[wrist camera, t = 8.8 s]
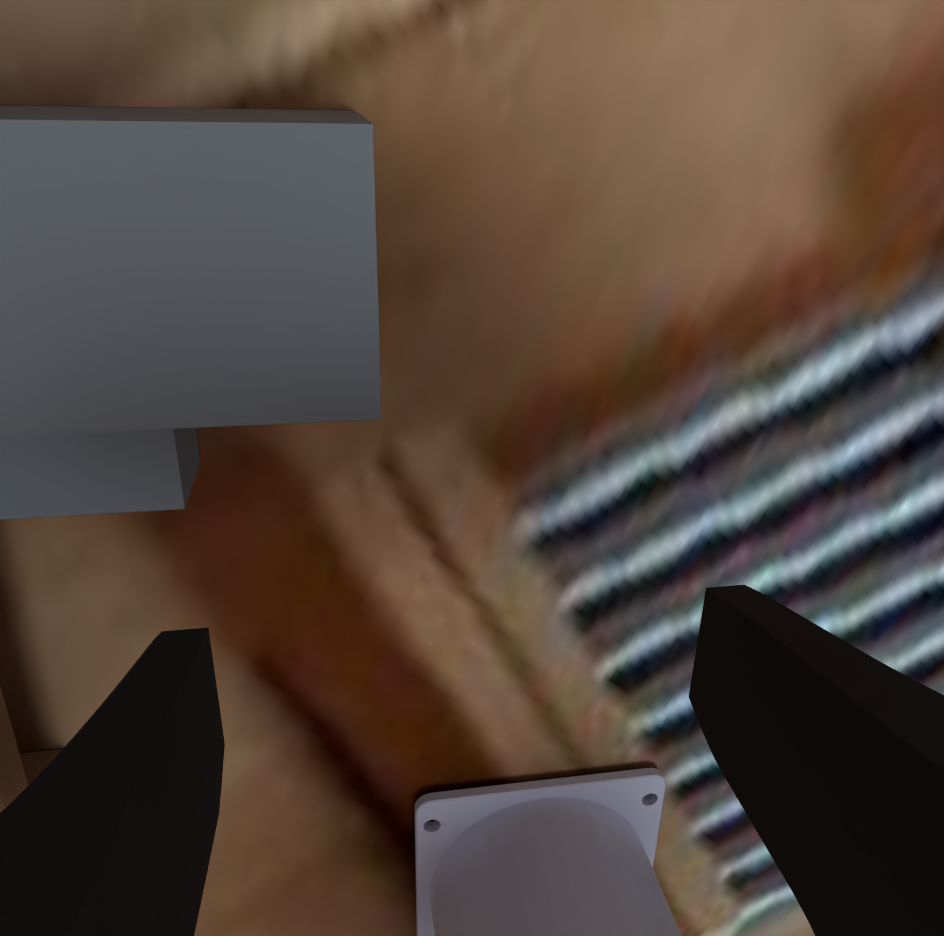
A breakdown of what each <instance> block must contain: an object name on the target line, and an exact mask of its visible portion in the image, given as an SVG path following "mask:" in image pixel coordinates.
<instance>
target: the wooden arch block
mask: <svg viewBox="0 0 944 936" xmlns="http://www.w3.org/2000/svg"><path fill="white" fill-rule="evenodd" d="M61 750H62V749H56V750H46V751H36V752H26V753H19V750H18V747H17V743H16V740H15V736H14V732H13V729H12V725H11V722H10V718H9V714H8V711H7V707H6V704H5V700H4V696H3V693H2V689H1V686H0V813H1V812H2V811H3V810H4V809H5V808H6V807H7V806H8V805H9V804H10V803H11V802H12V801H13V800H14V799H15V798H16V797H17V796H18V795H19V794H20V793H21V792H22V791H23V790H24V789H25V788H26V787H27V786H28V785H29V784H30V783H31V782H32V781H33V780H34V779H35V778H36V777H37V775H38V774H39V773H40V772H41V771H42V770H43V769H44V768H45V767H46V766H47V765H48V764H49V763H50V762H51V761H52V760H53V759H54V758H55V757H56V756H57V754H58V753H59V752H60V751H61Z"/></svg>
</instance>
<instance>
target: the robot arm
mask: <svg viewBox="0 0 944 936" xmlns="http://www.w3.org/2000/svg"><path fill="white" fill-rule="evenodd" d="M689 699H690V701H691V704H692V706H693V709H694V711H695V714H696V716H697V719H698V721H699V724H700V726H701V729H702V731H703V733H704V736H705V738H706V740H707V743H708V745H709V747H710V749H711V752H712V754H713V756H714V758H715V760H716V762H717V764H718V765H719V767H720V769H721V771H722V772H723V774H724V776H725V778H726V779H727V781H728V783H729V785H730V786H731V788H732V790H733V791H734V793H735V795H736V797H737V798H738V800H739V802H740V804H741V805H742V807H743V809H744V810H745V812H746V814H747V815H748V817H749V819H750V821H751V822H752V824H753V826H754V827H755V829H756V831H757V832H758V834H759V836H760V837H761V839H762V841H763V842H764V844H765V846H766V848H767V849H768V851H769V853H770V854H771V856H772V858H773V859H774V861H775V863H776V864H777V866H778V868H779V870H780V871H781V873H782V875H783V876H784V878H785V880H786V881H787V883H788V885H789V887H790V888H791V890H792V892H793V893H794V895H795V897H796V899H797V901H798V903H799V905H800V906H801V908H802V910H803V912H804V914H805V916H806V918H807V920H808V921H809V923H810V925H811V927H812V930H813V932H814V934H815V936H944V695H942V694H940V693H938V692H936V691H934V690H932V689H930V688H929V687H927V686H925V685H923V684H921V683H919V682H917V681H915V680H913V679H911V678H909V677H907V676H905V675H903V674H902V673H900V672H898V671H896V670H894V669H892V668H891V667H889V666H887V665H885V664H883V663H882V662H880V661H878V660H876V659H874V658H873V657H871V656H869V655H867V654H866V653H864V652H862V651H860V650H859V649H857V648H855V647H853V646H852V645H850V644H848V643H846V642H845V641H843V640H841V639H840V638H838V637H836V636H834V635H833V634H831V633H829V632H828V631H826V630H824V629H823V628H821V627H819V626H817V625H816V624H814V623H812V622H811V621H809V620H807V619H806V618H804V617H802V616H800V615H799V614H797V613H795V612H794V611H792V610H790V609H789V608H787V607H785V606H783V605H782V604H780V603H778V602H776V601H775V600H773V599H771V598H769V597H767V596H766V595H764V594H762V593H760V592H758V591H756V590H754V589H752V588H750V587H748V586H746V585H736V586H723V587H711V588H706V592H705V598H704V605H703V611H702V617H701V623H700V630H699V636H698V642H697V648H696V655H695V661H694V667H693V673H692V680H691V686H690V692H689ZM224 745H225V743H224V736H223V729H222V722H221V715H220V708H219V700H218V693H217V686H216V679H215V672H214V665H213V658H212V651H211V644H210V636H209V629H208V628H199V629H187V630H174V631H162V632H161V633H160V634H159V635H158V636H157V637H156V638H155V639H154V640H153V641H152V643H151V644H150V645H149V646H148V648H147V649H146V650H145V651H144V653H143V654H142V655H141V657H140V658H139V659H138V660H137V662H136V663H135V664H134V665H133V667H132V668H131V669H130V670H129V672H128V673H127V674H126V675H125V677H124V678H123V679H122V680H121V682H120V683H119V684H118V685H117V687H116V688H115V689H114V690H113V691H112V693H111V694H110V695H109V696H108V698H107V699H106V700H105V701H104V702H103V703H102V705H101V706H100V707H99V708H98V709H97V710H96V712H95V713H94V714H93V715H92V716H91V717H90V719H89V720H88V721H87V722H86V723H85V724H84V726H83V727H82V728H81V729H80V730H79V731H78V733H77V734H76V735H75V736H74V737H73V738H72V739H71V740H70V742H69V743H68V744H67V745H66V746H65V747H64V748H63V749H62V750H61V751H60V752H59V753H58V754H57V756H56V757H55V758H54V759H53V760H52V761H51V762H50V763H49V764H48V765H47V766H46V767H45V768H44V769H43V770H42V771H41V772H40V773H39V774H38V775H37V777H36V778H35V779H34V780H33V781H32V782H31V783H30V784H29V785H28V786H27V787H26V788H25V789H24V790H23V791H22V792H21V793H20V794H19V795H18V796H17V797H16V798H15V799H14V800H13V801H12V802H11V803H10V804H9V805H8V806H7V807H6V808H5V809H4V810H3V811H2V812H1V813H0V936H194V933H195V928H196V923H197V919H198V914H199V909H200V904H201V899H202V894H203V890H204V885H205V880H206V875H207V870H208V865H209V860H210V855H211V851H212V846H213V841H214V836H215V831H216V826H217V820H218V815H219V806H220V795H221V784H222V772H223V758H224ZM665 787H666V782H665V779H664V777H663V775H662V773H661V772H660V770H658V769H656V768H643V769H634V770H625V771H617V772H608V773H599V774H591V775H582V776H573V777H564V778H556V779H547V780H538V781H530V782H521V783H512V784H503V785H495V786H486V787H477V788H469V789H460V790H451V791H443V792H434V793H428V794H425V795H423V796H421V797H420V798H419V799H418V800H417V801H416V803H415V865H416V926H417V936H681V934H680V932H679V929H678V927H677V925H676V922H675V920H674V918H673V915H672V913H671V910H670V908H669V906H668V903H667V901H666V899H665V896H664V894H663V892H662V889H661V887H660V884H659V882H658V880H657V877H656V875H655V873H654V870H653V865H654V859H655V852H656V846H657V839H658V833H659V826H660V820H661V813H662V806H663V800H664V793H665ZM647 794H649V795H647ZM645 795H647V796H645ZM429 820H435V821H432V822H427V821H429Z"/></svg>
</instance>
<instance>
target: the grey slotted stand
mask: <svg viewBox="0 0 944 936" xmlns="http://www.w3.org/2000/svg"><path fill="white" fill-rule="evenodd" d="M360 420H382V406H381V373H380V341H379V308H378V275H377V243H376V210H375V177H374V145H373V124H372V123H371V122H369V121H368V120H367V119H365V118H364V117H363V116H361V115H360V114H358V113H357V112H356V111H354V110H292V109H222V108H153V107H83V106H13V105H0V520H4V519H21V518H39V517H56V516H73V515H90V514H107V513H124V512H141V511H159V510H176V509H185V507H186V504H187V501H188V498H189V495H190V491H191V488H192V485H193V482H194V479H195V476H196V473H197V470H198V467H199V464H200V456H199V448H198V440H197V433H196V428H199V427H222V426H245V425H268V424H291V423H314V422H337V421H360Z"/></svg>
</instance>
